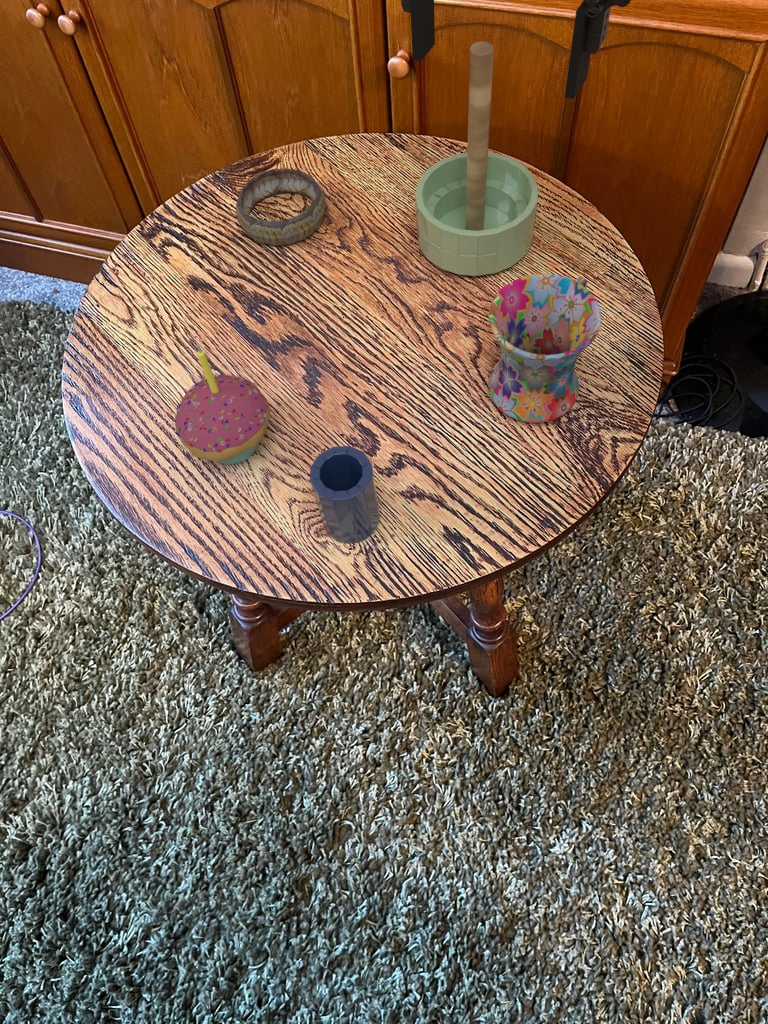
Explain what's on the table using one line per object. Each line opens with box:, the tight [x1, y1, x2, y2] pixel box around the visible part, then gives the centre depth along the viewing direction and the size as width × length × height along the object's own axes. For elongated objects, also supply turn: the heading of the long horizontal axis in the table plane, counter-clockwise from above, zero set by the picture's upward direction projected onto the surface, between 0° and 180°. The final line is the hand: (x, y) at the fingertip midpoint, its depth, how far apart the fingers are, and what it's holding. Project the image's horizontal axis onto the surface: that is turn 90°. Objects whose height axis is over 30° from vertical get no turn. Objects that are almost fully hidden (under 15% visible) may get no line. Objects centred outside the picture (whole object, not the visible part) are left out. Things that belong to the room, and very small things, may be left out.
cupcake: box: [174, 342, 272, 465], centre depth 68 cm, size 9×8×12 cm
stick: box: [465, 41, 495, 231], centre depth 74 cm, size 2×2×20 cm
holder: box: [309, 445, 381, 544], centre depth 65 cm, size 5×5×8 cm
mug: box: [487, 273, 602, 424], centre depth 69 cm, size 12×9×11 cm
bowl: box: [414, 151, 540, 277], centre depth 81 cm, size 12×12×6 cm
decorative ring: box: [235, 167, 327, 247], centre depth 86 cm, size 10×3×10 cm
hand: (497, 70), depth 63 cm, fingers open, 13 cm apart
